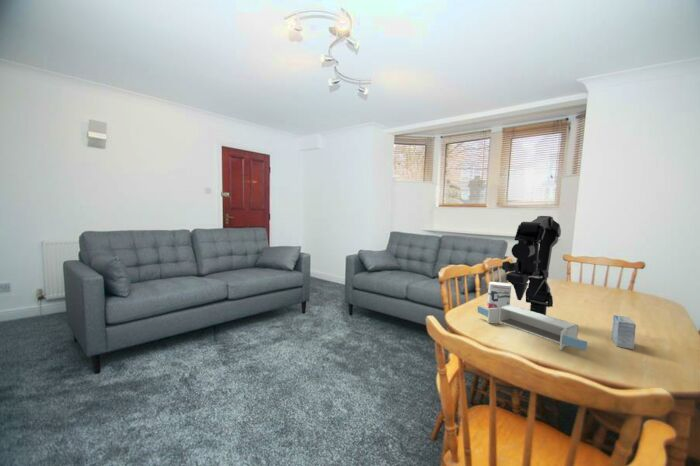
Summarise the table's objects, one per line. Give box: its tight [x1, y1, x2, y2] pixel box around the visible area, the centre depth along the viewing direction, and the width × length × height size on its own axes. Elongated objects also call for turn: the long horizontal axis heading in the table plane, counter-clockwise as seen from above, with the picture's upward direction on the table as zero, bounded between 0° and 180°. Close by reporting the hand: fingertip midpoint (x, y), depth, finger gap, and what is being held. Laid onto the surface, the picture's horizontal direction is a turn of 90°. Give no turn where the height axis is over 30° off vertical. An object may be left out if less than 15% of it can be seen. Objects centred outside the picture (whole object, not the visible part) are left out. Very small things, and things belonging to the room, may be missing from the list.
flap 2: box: [559, 328, 588, 351], centre depth 94 cm, size 7×5×6 cm
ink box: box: [487, 281, 512, 309], centre depth 135 cm, size 8×5×12 cm, turn 72°
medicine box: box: [611, 315, 637, 350], centre depth 102 cm, size 8×4×9 cm, turn 148°
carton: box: [498, 304, 579, 347], centre depth 110 cm, size 7×24×6 cm, turn 30°
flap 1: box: [477, 305, 500, 324], centre depth 120 cm, size 7×5×6 cm
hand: (525, 298), depth 111 cm, fingers open, 9 cm apart
